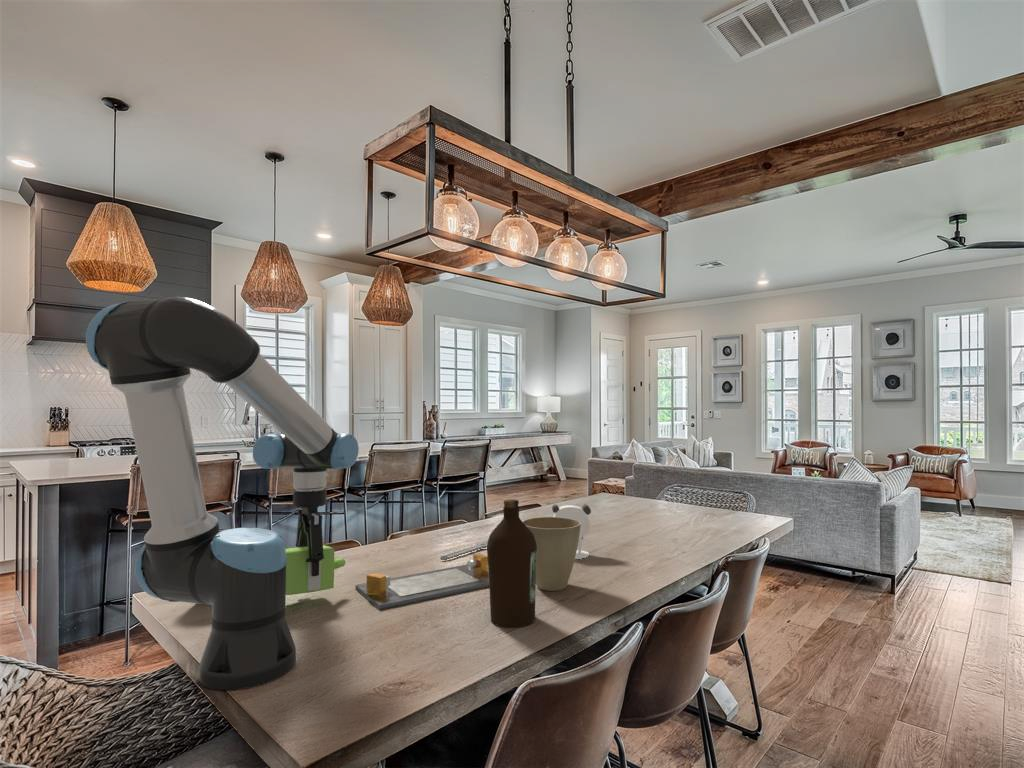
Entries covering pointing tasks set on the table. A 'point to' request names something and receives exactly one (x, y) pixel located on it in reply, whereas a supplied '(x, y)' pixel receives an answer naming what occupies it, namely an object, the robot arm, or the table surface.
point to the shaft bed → (425, 584)
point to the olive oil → (512, 570)
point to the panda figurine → (580, 516)
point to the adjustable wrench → (465, 550)
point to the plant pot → (554, 550)
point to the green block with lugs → (299, 569)
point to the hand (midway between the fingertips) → (308, 584)
